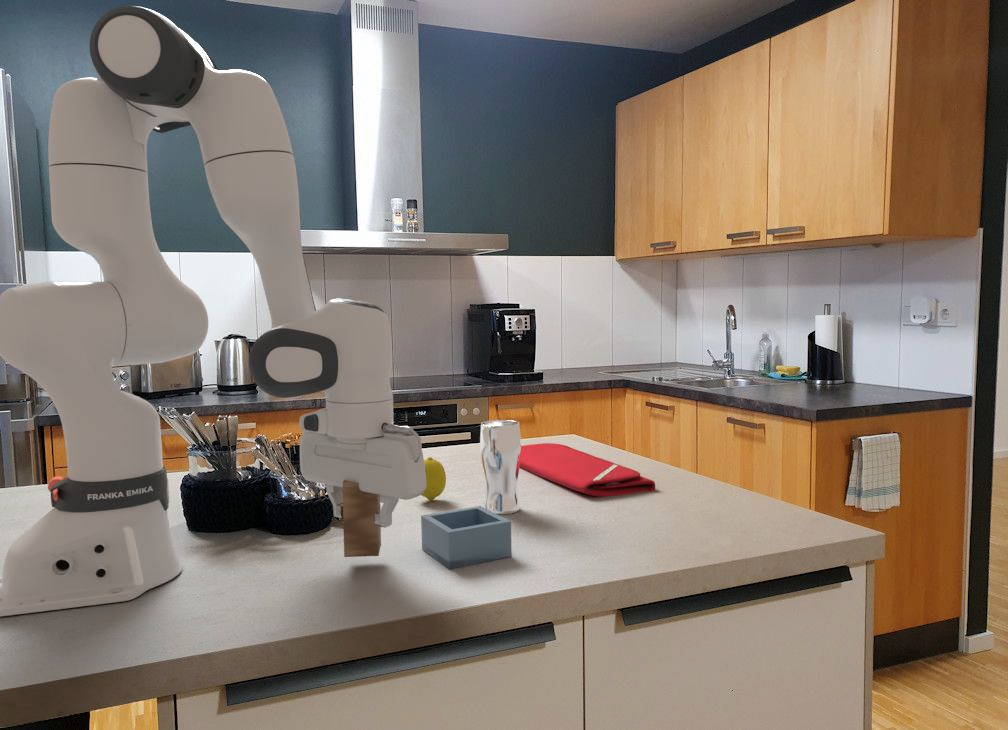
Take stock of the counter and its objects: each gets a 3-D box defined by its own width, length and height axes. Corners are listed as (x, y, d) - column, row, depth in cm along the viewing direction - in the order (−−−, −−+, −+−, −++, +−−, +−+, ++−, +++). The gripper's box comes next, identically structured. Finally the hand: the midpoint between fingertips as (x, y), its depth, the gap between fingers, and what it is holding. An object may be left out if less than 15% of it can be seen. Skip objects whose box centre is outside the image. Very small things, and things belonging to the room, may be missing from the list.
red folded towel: (560, 453, 179) (559, 438, 178) (658, 493, 141) (658, 473, 140) (498, 460, 173) (497, 444, 172) (583, 503, 135) (582, 482, 134)
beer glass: (508, 517, 125) (506, 427, 123) (473, 512, 128) (471, 424, 127) (529, 507, 130) (528, 421, 129) (495, 502, 134) (493, 418, 133)
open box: (449, 569, 101) (448, 532, 100) (422, 549, 109) (421, 515, 109) (511, 556, 105) (510, 521, 105) (480, 538, 114) (480, 505, 113)
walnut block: (344, 557, 100) (342, 483, 100) (348, 545, 105) (346, 475, 104) (378, 555, 101) (377, 482, 100) (381, 544, 105) (379, 474, 104)
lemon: (441, 505, 133) (440, 460, 132) (411, 504, 134) (410, 460, 133) (450, 497, 138) (448, 454, 138) (421, 496, 139) (419, 453, 139)
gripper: (435, 424, 98) (437, 528, 99) (324, 410, 109) (327, 504, 111) (403, 431, 93) (405, 541, 94) (290, 416, 104) (293, 514, 105)
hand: (362, 521), depth 103 cm, fingers closed on walnut block, 6 cm apart
